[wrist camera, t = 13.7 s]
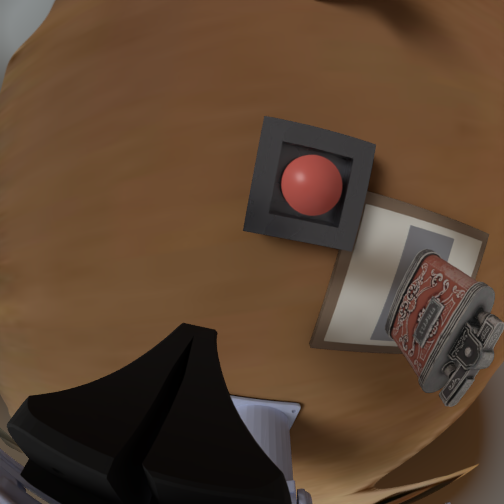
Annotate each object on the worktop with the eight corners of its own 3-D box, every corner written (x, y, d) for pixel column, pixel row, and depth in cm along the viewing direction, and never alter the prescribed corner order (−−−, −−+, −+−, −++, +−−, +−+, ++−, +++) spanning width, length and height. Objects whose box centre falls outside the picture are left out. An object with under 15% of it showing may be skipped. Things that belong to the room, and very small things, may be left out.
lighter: (415, 243, 18) (503, 301, 9) (444, 254, 18) (526, 309, 9) (376, 333, 20) (426, 420, 11) (406, 337, 21) (458, 415, 11)
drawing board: (438, 350, 22) (441, 354, 21) (309, 343, 22) (310, 349, 21) (485, 232, 18) (490, 234, 17) (354, 187, 18) (357, 188, 17)
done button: (328, 216, 17) (335, 221, 16) (275, 205, 17) (276, 209, 16) (340, 163, 16) (347, 163, 15) (285, 150, 16) (288, 148, 15)
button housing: (341, 241, 19) (351, 251, 17) (245, 222, 19) (242, 230, 16) (361, 146, 17) (375, 144, 15) (263, 122, 17) (264, 116, 14)
